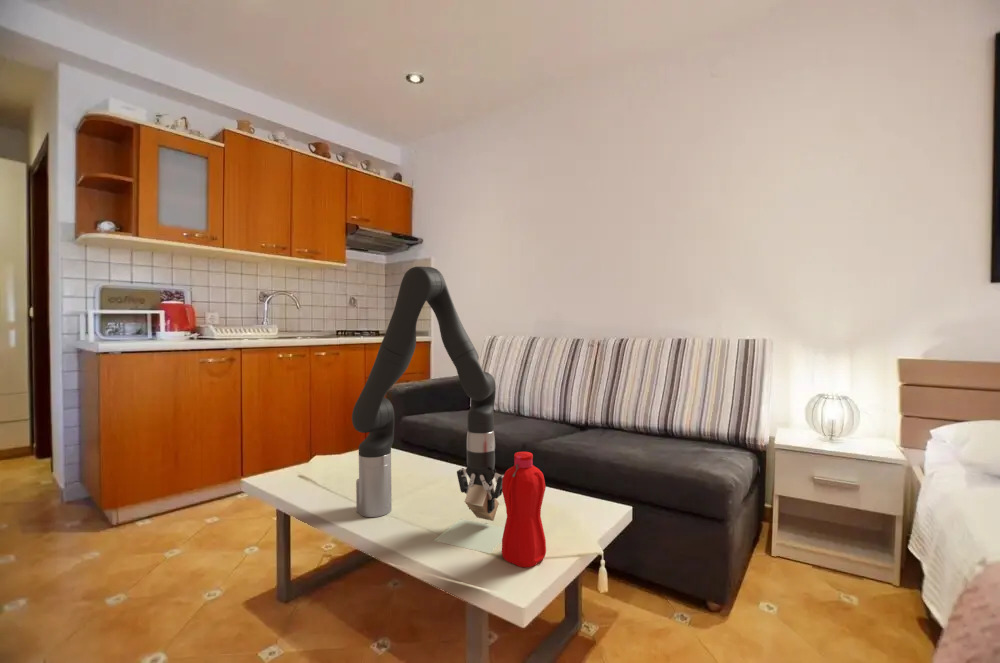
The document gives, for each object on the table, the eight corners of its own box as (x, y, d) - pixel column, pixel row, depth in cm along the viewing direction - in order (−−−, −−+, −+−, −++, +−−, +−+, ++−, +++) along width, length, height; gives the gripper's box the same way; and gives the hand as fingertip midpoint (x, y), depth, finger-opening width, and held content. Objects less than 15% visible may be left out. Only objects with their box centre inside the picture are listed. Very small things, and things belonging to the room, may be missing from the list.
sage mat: (433, 542, 116) (433, 540, 116) (460, 520, 128) (460, 518, 128) (490, 555, 109) (490, 553, 109) (513, 530, 122) (513, 529, 122)
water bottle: (491, 563, 106) (490, 455, 105) (520, 544, 114) (519, 445, 114) (523, 577, 100) (523, 463, 99) (551, 556, 108) (550, 452, 108)
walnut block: (477, 517, 126) (464, 501, 119) (482, 500, 129) (470, 483, 122) (493, 520, 124) (481, 504, 117) (498, 503, 127) (487, 486, 120)
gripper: (450, 447, 122) (450, 511, 122) (499, 454, 116) (499, 520, 116) (464, 441, 128) (464, 501, 129) (510, 446, 122) (511, 509, 123)
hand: (481, 510), depth 122 cm, fingers closed on walnut block, 5 cm apart
